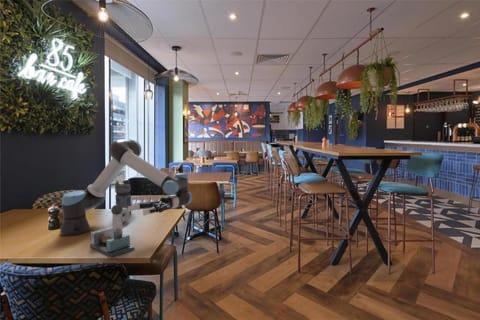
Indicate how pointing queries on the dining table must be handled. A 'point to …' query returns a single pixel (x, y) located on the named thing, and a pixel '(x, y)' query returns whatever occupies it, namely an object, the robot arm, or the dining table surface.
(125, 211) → the donut
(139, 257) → the dining table surface
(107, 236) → the walnut
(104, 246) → the nutcracker base
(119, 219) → the jaw
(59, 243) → the dining table surface
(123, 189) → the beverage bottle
